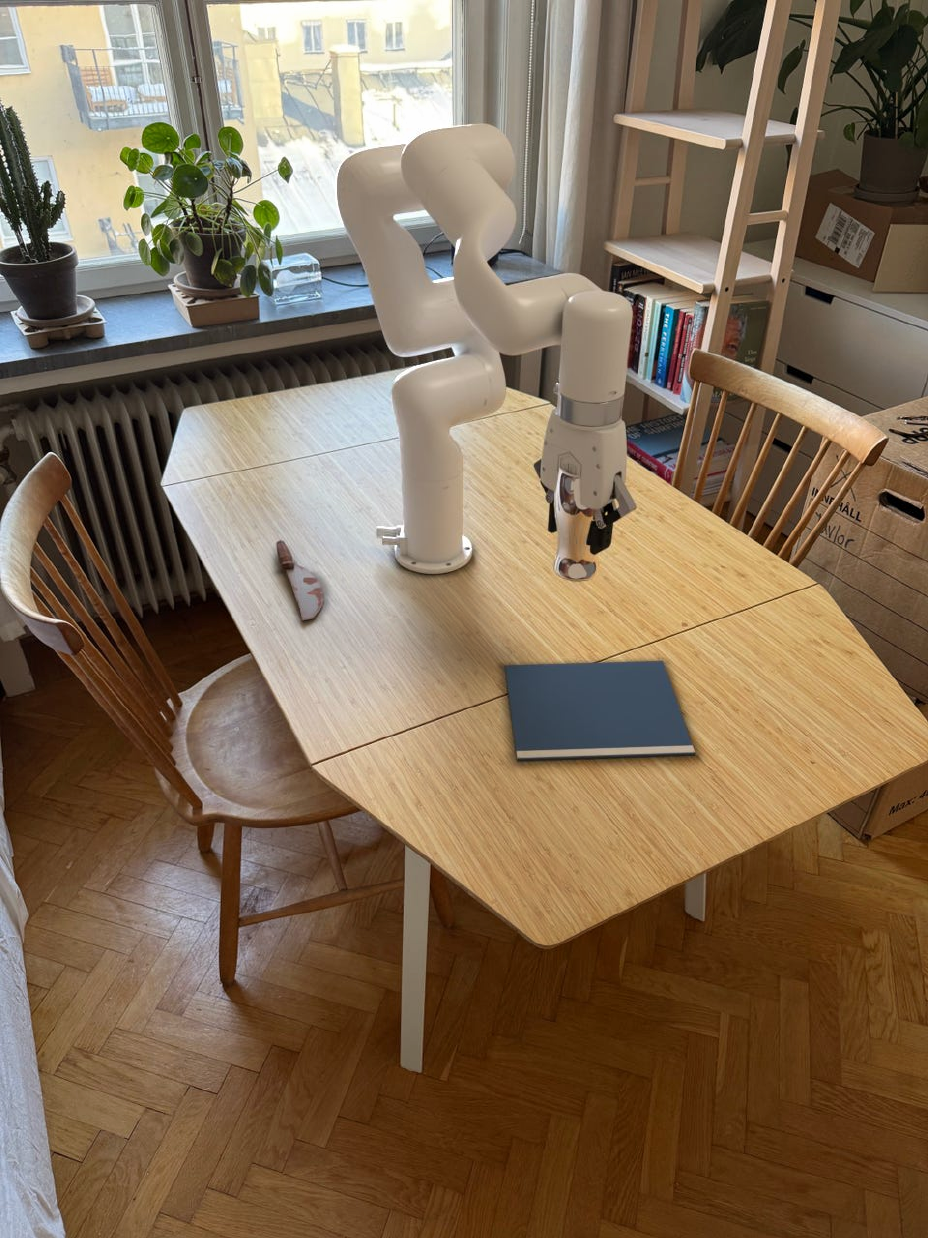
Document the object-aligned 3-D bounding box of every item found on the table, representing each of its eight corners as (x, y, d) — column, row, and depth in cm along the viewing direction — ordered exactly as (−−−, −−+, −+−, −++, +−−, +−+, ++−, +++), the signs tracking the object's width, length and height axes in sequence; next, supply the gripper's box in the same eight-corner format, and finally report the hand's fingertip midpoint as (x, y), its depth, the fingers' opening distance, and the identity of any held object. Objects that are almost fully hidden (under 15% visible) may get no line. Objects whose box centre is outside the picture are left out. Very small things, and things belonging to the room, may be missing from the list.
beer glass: (545, 555, 122) (551, 452, 113) (597, 553, 122) (607, 449, 113) (554, 585, 116) (561, 478, 107) (608, 582, 117) (620, 476, 108)
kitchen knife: (333, 613, 136) (299, 616, 134) (332, 622, 137) (299, 625, 135) (305, 536, 151) (274, 538, 149) (304, 545, 152) (274, 547, 150)
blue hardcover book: (517, 761, 112) (517, 759, 112) (504, 667, 127) (504, 664, 127) (695, 755, 113) (695, 753, 113) (662, 662, 128) (663, 660, 128)
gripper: (513, 392, 109) (509, 523, 120) (627, 439, 99) (611, 578, 109) (557, 376, 113) (549, 504, 124) (670, 419, 103) (651, 555, 113)
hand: (578, 538), depth 116 cm, fingers closed on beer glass, 6 cm apart
